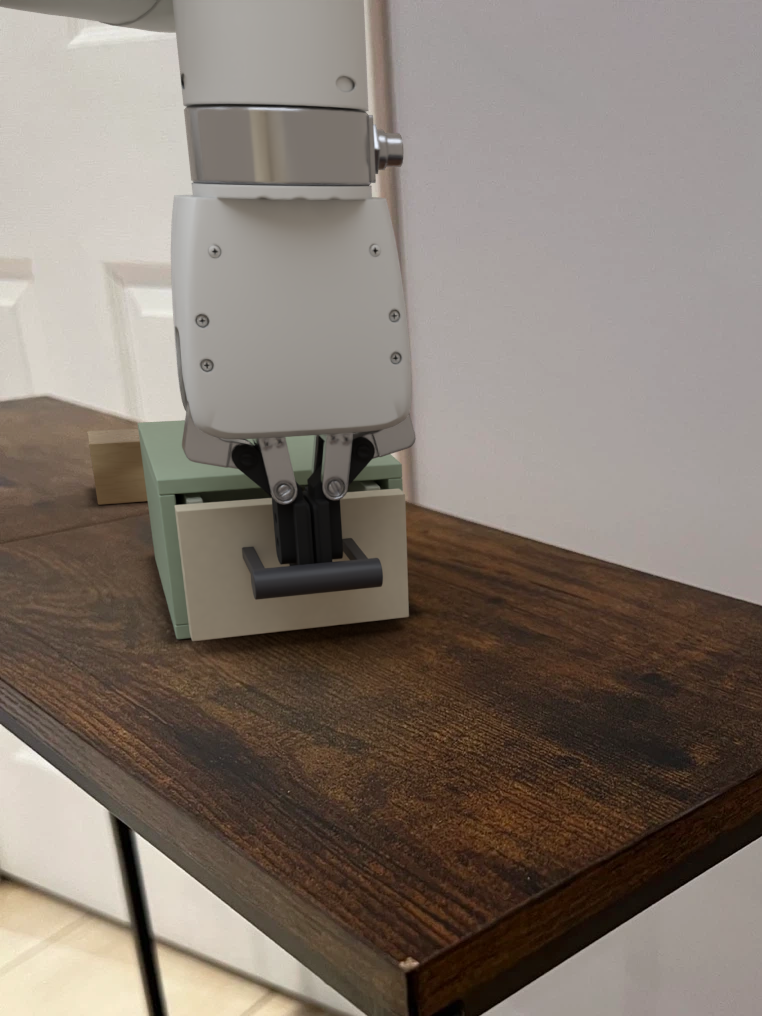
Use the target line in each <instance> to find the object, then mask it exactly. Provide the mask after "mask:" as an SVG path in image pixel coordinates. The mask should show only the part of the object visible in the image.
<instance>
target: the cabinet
mask: <svg viewBox="0 0 762 1016" xmlns="http://www.w3.org/2000/svg"><path fill="white" fill-rule="evenodd" d="M184 424H185V419H184V420H183V419H182V420H165V421H144V422H141V421H140V422H138V423H137V429H138V431H139V436H140V437H139V439H140V447H141V454H142V462H143V470H144V477H145V485H146V493H147V500H148V501H147V507H148V514H149V524H150V530H151V538H152V545H153V554H154V559H155V564H156V566H157V571H158V574H159V575H158V576H159V578H160V582H161V585H162V586H161V587H162V589H163V593H164V597H165V601H166V604H167V608H168V612H169V615H170V619H171V623H172V627H173V631H174V635H175V639H176V640H186V639H191V636H190V631H189V623H188V615H187V606H186V598H185V590H184V581H183V573H182V565H181V556H180V548H179V540H178V532H177V523H176V515H175V507H174V506H175V505H176V498H175V494H183V493H197V492H211V491H225V490H239V489H253V488H261V487H259V486H258V485H257V484H256V483H255V482H253V481H252V480H251V479H250V478H249V477H247V476H246V475H245V474H244V473H243V472H241V471H240V470H239V469H234V468H229V467H227V468H225V467H219V466H213V465H207V464H201V463H195V462H192V461H190V460H189V459H188V458H187V457H186V455H185V453H184V451H183V449H182V439H183V432H184ZM285 438H286V442H287V446H288V451H289V455H290V459H291V464H292V468H293V472H294V477H295V480H296V482H297V483H298V484H299V485H308V483H307V479H308V478H309V477H310V476H311V470H312V457H313V445H314V435H309V436H293V437H285ZM246 440H248V441H250V442H251V443H252V444H253V441H252V439H246ZM366 480H373V481H374V482H375V483H376V484H377V485H378V486H379V487H380V490H385V489H400V490H401V491H402V492H403V493H404V491H403V490H404V487H403V485H404V484H403V464H402V462H400V461H399V460H398V459H397V458H396V457H394V455H392V454H389V455H386V456H383V457H377V458H374V459H372V460H371V461H370V462H369V463H368V464H367V466H366V467H365V468H364V469H363V470H362V471H361V472H360V474H359V475H358V476H357V477H356V478H355V479H354V480H353V481H366Z"/></svg>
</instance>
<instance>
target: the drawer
mask: <svg viewBox="0 0 762 1016" xmlns="http://www.w3.org/2000/svg"><path fill="white" fill-rule="evenodd" d="M299 486H300V487H301V488H302V492H304V491H305V487H308V485H299ZM175 498H176V505H175V506H174V507H175V515H176V523H177V532H178V540H179V548H180V556H181V565H182V573H183V581H184V590H185V598H186V606H187V615H188V623H189V631H190V636H191V638H190V640H191V642H198V641H208V640H218V639H226V638H235V637H242V636H243V637H245V636H254V635H260V634H262V635H263V634H269V633H271V634H272V633H279V632H280V633H281V632H289V631H297V630H305V629H306V630H307V629H315V628H324V627H325V628H326V627H333V626H340V625H342V626H343V625H350V624H351V625H352V624H360V623H368V622H376V621H377V622H378V621H386V620H394V619H404V618H409V617H410V608H409V606H410V605H409V603H410V602H409V601H410V600H409V576H408V575H409V574H408V570H409V569H408V540H407V508H406V507H407V506H406V505H407V504H406V493H405V492H404V491H403V492H402V491H401V490H400V489H385V490H380V487H379V486H378V485H377V484H376V483H375V482H374V481H373V480H366V481H353V482H352V483H351V484H350V485H349V486H348V491H347V493H346V495H345V496H344V497H343V498H342V499H340V508H341V525H342V542H343V558H342V559H333V560H332V561H333V562H327V563H316V564H305V565H295V566H290V565H289V564H282V565H281V564H280V563H279V561H278V557H277V552H276V543H275V532H274V520H273V508H272V497H271V496H270V495H269V494H268V493H267V492H265V491H264V490H263V489H262V488H253V489H239V490H225V491H211V492H197V493H183V494H175Z"/></svg>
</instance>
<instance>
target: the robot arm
mask: <svg viewBox="0 0 762 1016" xmlns="http://www.w3.org/2000/svg"><path fill="white" fill-rule="evenodd" d="M0 8H5V9H10V10H17V11H22V12H29V13H36V14H42V15H50V16H56V17H57V16H58V17H67V18H73V19H81V20H88V21H94V22H98V23H101V24H105V25H108V26H113V27H118V28H119V27H120V28H127V29H134V30H141V31H145V32H146V31H148V32H154V33H155V32H157V33H165V34H167V33H168V34H175V38H176V48H177V56H178V57H177V58H178V66H179V75H180V85H181V86H180V87H181V95H182V105H183V107H185V108H184V109H183V114H184V124H185V134H186V142H187V154H188V162H189V164H188V165H189V172H190V181H191V193H192V194H175V195H173V200H172V201H173V202H172V210H171V227H170V228H171V231H170V285H171V302H172V303H171V304H172V320H173V335H174V347H175V359H176V361H175V362H176V370H177V371H176V372H177V378H178V387H179V393H180V398H181V402H182V405H183V409H184V411H185V418H184V420H185V424H184V432H183V439H182V449H183V451H184V453H185V455H186V457H187V458H188V459H189V460H190V461H192V462H195V463H201V464H207V465H213V466H219V467H225V468H227V467H229V468H234V469H239V470H240V471H241V472H243V473H244V474H245V475H246V476H247V477H249V478H250V479H251V480H252V481H253V482H255V483H256V484H257V485H258V486H259V487H261V488H262V489H263V490H264V491H265V492H267V493H268V494H269V495H270V496H271V497H272V508H273V520H274V532H275V543H276V552H277V557H278V561H279V563H280V564H281V565H282V564H289V565H290V566H295V565H305V564H316V563H327V562H333V561H332V560H333V559H342V558H343V542H342V525H341V508H340V499H342V498H343V497H344V496H345V495H346V493H347V491H348V486H349V485H350V484H351V483H352V482H353V480H354V479H355V478H356V477H357V476H358V475H359V474H360V472H361V471H362V470H363V469H364V468H365V467H366V466H367V464H368V463H369V462H370V461H371V460H372V459H374V458H377V457H383V456H386V455H389V454H391V455H392V454H394V453H398V452H401V451H404V450H408V449H410V448H412V447H413V445H414V444H415V443H416V439H417V438H416V433H415V428H414V425H413V422H412V418H411V415H410V412H411V410H412V403H413V370H412V355H411V344H410V342H411V341H410V332H409V324H408V323H409V322H408V315H407V307H406V306H407V305H406V298H405V291H404V284H403V276H402V270H401V264H400V257H399V252H398V246H397V241H396V235H395V231H394V226H393V222H392V216H391V212H390V207H389V204H388V200H387V198H386V197H381V196H379V197H377V196H373V190H372V185H371V184H376V182H377V176H376V175H379V171H385V170H386V168H401V167H402V165H403V162H404V141H403V137H402V135H401V134H400V133H398V132H397V133H394V132H385V130H384V129H381V128H379V129H378V128H377V124H375V123H374V115H373V114H368V112H369V92H368V91H369V90H368V89H369V87H368V69H367V66H368V65H367V45H366V43H367V42H366V21H365V18H366V17H365V0H0ZM309 435H314V445H313V457H312V470H311V476H310V477H309V478H308V479H307V483H308V487H305V491H304V492H302V488H301V487H300V486H299V484H298V483H297V482H296V480H295V477H294V472H293V468H292V464H291V459H290V455H289V451H288V446H287V442H286V438H285V437H293V436H309ZM246 439H252V441H253V444H252V443H251V442H250V441H248V440H246Z"/></svg>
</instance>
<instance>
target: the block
mask: <svg viewBox="0 0 762 1016" xmlns="http://www.w3.org/2000/svg"><path fill="white" fill-rule="evenodd" d="M86 433H87V441H88V448H89V453H90V454H89V455H90V461H91V466H92V473H93V480H94V481H93V482H94V487H95V495H96V500H97V501H96V502H97V505H98V506H101V505H102V506H104V505H117V504H129V503H130V504H131V503H132V504H133V503H143V502H145V503H146V502H148V500H147V493H146V485H145V477H144V470H143V462H142V454H141V447H140V439H139V437H140V436H139V431H138V428H121V429H101V430H88V431H86Z"/></svg>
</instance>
